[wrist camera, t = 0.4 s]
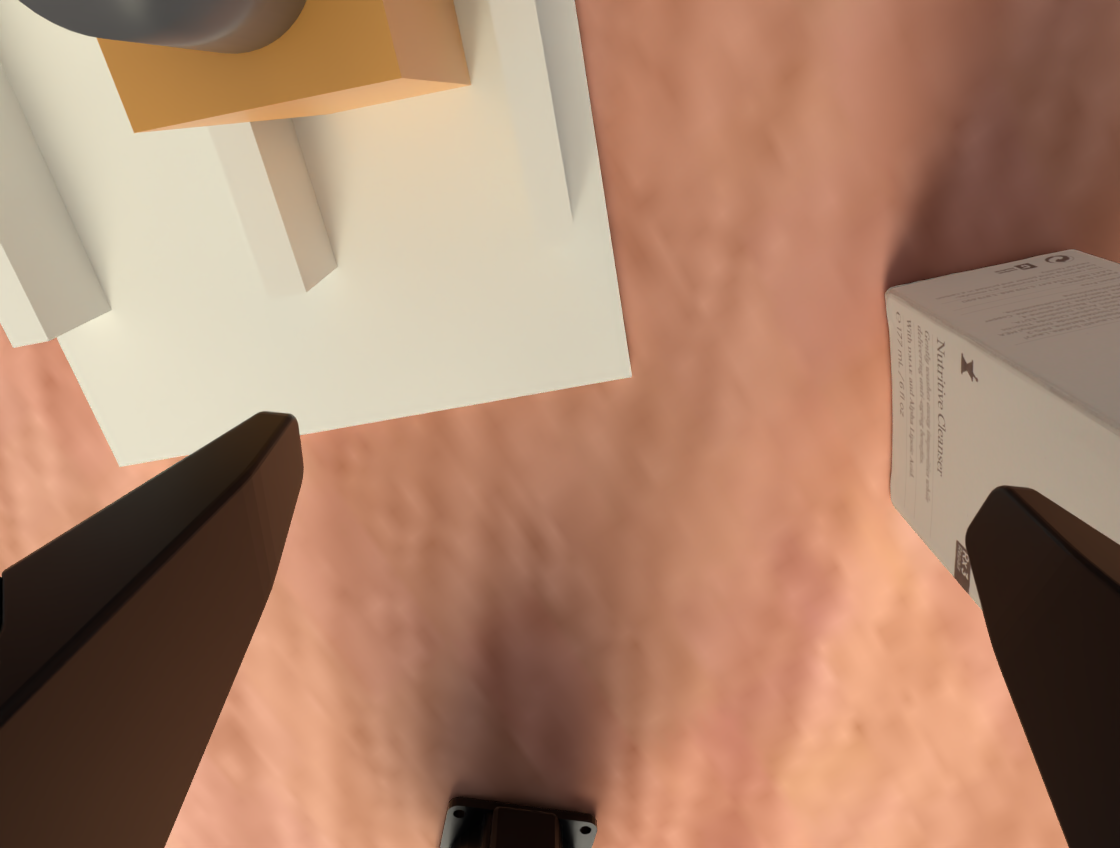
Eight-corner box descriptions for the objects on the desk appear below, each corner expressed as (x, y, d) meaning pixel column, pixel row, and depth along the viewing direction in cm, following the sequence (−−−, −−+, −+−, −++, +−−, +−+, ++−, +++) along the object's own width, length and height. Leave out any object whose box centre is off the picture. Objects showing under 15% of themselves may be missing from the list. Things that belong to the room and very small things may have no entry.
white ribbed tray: (630, 370, 23) (647, 430, 19) (129, 458, 25) (42, 533, 20) (514, -384, 16) (502, -551, 12) (-193, -211, 17) (-431, -309, 13)
